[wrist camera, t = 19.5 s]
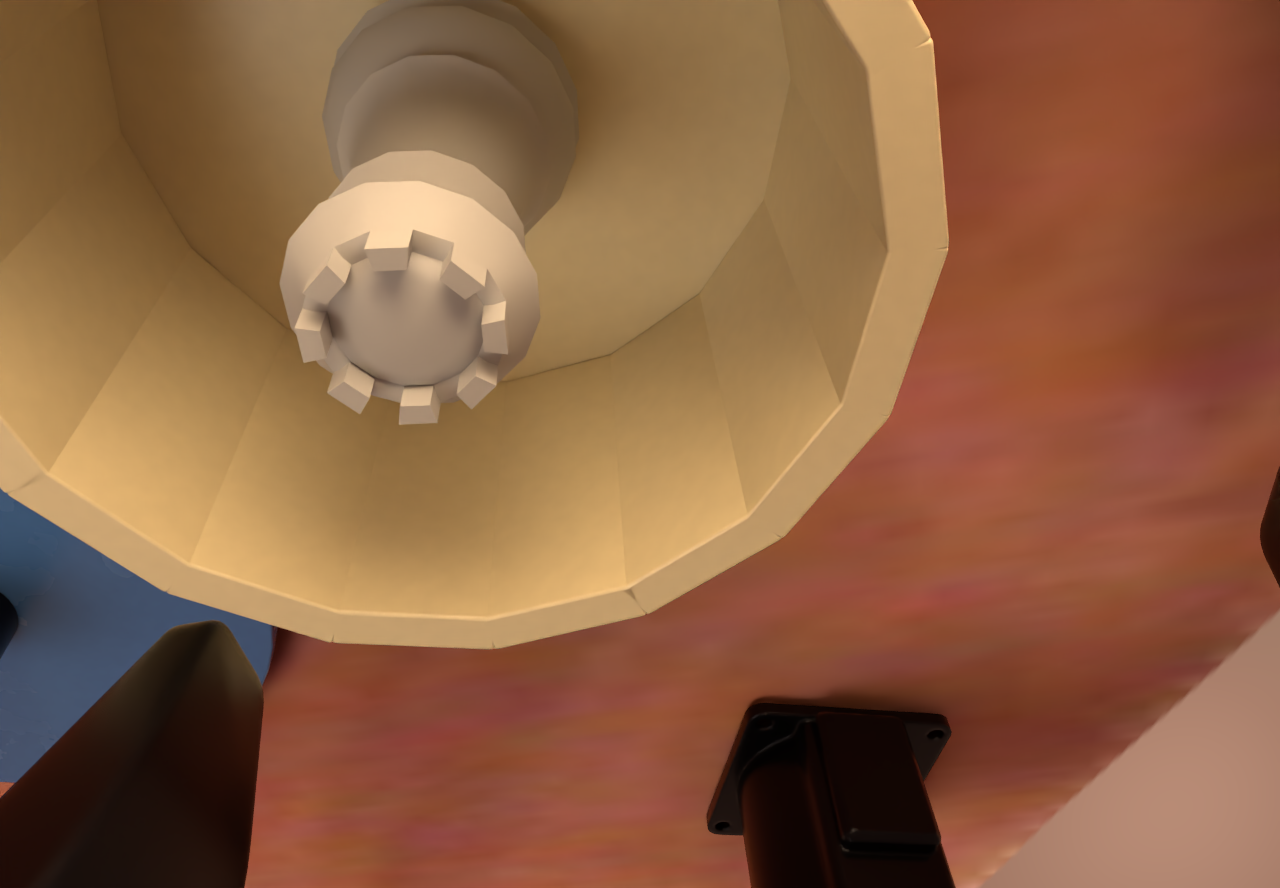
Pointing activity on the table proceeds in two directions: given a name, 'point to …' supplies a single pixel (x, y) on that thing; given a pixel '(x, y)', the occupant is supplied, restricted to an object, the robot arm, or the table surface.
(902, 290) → the tin
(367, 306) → the rook chess piece
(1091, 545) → the table surface
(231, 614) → the lid
